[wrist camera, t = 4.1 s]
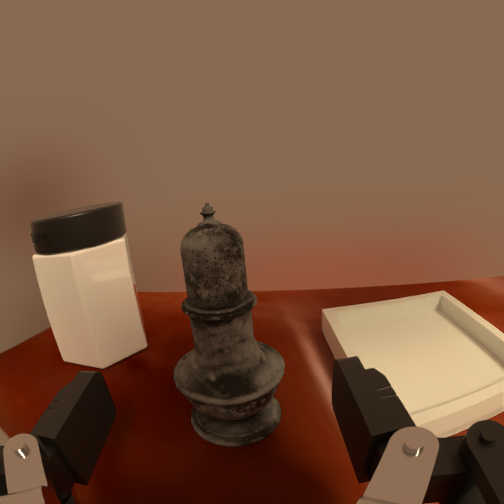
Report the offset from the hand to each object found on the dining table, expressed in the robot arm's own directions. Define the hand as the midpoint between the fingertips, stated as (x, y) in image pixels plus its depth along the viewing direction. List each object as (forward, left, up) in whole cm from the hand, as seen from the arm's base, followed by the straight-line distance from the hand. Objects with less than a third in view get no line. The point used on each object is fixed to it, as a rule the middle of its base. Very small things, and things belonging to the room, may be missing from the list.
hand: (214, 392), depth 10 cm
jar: (+12, -15, -7) cm, 20 cm away
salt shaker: (0, -6, -7) cm, 9 cm away
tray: (-13, -8, -6) cm, 16 cm away
